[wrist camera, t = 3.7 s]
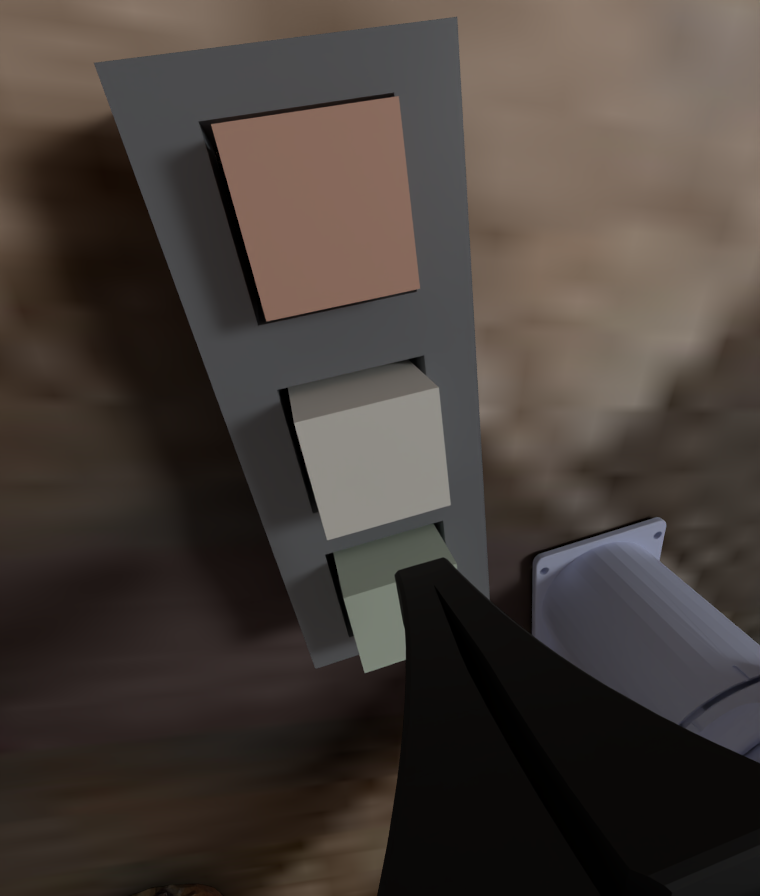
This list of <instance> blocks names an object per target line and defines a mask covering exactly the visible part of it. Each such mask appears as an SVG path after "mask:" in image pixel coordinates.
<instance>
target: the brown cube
mask: <svg viewBox="0 0 760 896" xmlns="http://www.w3.org/2000/svg"><path fill="white" fill-rule="evenodd" d="M211 126H212V130H213V133H214V137H215V140H216V144H217V147H218V151H219V155H220V158H221V162H222V165H223V169H224V172H225V176H226V179H227V183H228V187H229V190H230V194H231V197H232V201H233V204H234V208H235V211H236V215H237V219H238V222H239V226H240V229H241V233H242V236H243V240H244V243H245V247H246V251H247V254H248V258H249V261H250V265H251V268H252V272H253V275H254V279H255V283H256V286H257V290H258V293H259V297H260V300H261V304H262V307H263V311H264V314H265V318H266V322H267V321H271V320H276V319H281V318H285V317H290V316H295V315H299V314H304V313H309V312H313V311H318V310H323V309H327V308H332V307H337V306H341V305H346V304H351V303H356V302H360V301H365V300H370V299H374V298H379V297H384V296H388V295H393V294H398V293H402V292H407V291H412V290H416V289H420V283H419V274H418V265H417V256H416V247H415V238H414V229H413V220H412V211H411V202H410V193H409V184H408V175H407V166H406V157H405V148H404V138H403V129H402V120H401V111H400V102H399V96H396V97H389V98H383V99H376V100H369V101H363V102H356V103H349V104H343V105H336V106H329V107H323V108H316V109H309V110H303V111H296V112H289V113H282V114H276V115H269V116H262V117H256V118H249V119H242V120H236V121H229V122H222V123H216V124H211Z"/></svg>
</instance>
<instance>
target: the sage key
mask: <svg viewBox="0 0 760 896" xmlns="http://www.w3.org/2000/svg"><path fill="white" fill-rule="evenodd" d="M333 554H334V558H335V563H336V567H337V572H338V576H339V581H340V585H341V589H342V594H343V598H344V602H345V605H346V609H347V612H348V616H349V619H350V623H351V627H352V630H353V634H354V637H355V641H356V644H357V648H358V651H359V655H360V658H361V662H362V665H363V669H364V673H367V672H370V671H373V670H376V669H379V668H382V667H385V666H388V665H391V664H394V663H397V662H400V661H403V660H406V642H405V628H404V625H403V620H402V615H401V609H400V604H399V598H398V593H397V587H396V582H395V576H394V575H395V573H396V572H397V571H398V570H401V569H404V568H408V567H411V566H414V565H418V564H421V563H425V562H428V561H432V560H435V559H439V558H442V557H444V558H446V559H448V560H449V561H450V562H451V564H452V565H453V566H454V567H455V568H456V569H457V563H456V561H455V560H454V558H453V556H452V555H451V553H450V551H449V549H448V548H447V546H446V544H445V543H444V541H443V539H442V537H441V536H440V534H439V532H438V531H437V529H436V527H435V525H434V524H429V525H426V526H422V527H419V528H415V529H412V530H409V531H405V532H402V533H398V534H395V535H391V536H388V537H384V538H381V539H378V540H374V541H371V542H367V543H364V544H360V545H357V546H354V547H350V548H347V549H343V550H340V551H336V552H333Z"/></svg>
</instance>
